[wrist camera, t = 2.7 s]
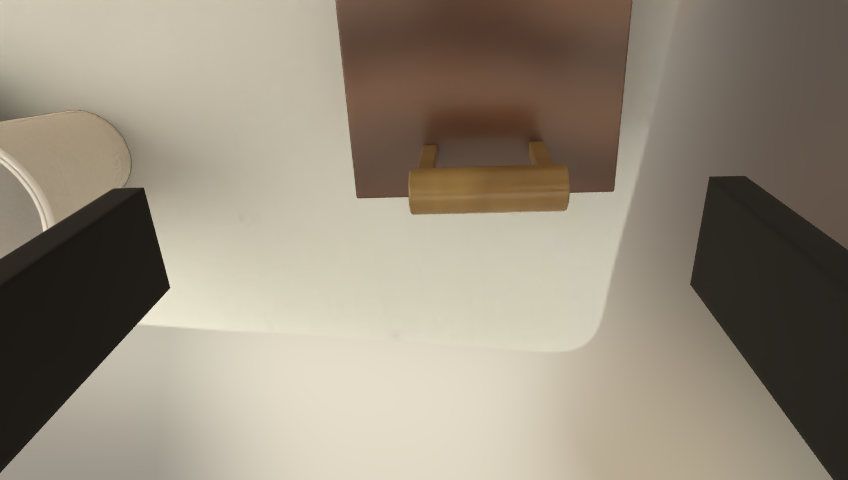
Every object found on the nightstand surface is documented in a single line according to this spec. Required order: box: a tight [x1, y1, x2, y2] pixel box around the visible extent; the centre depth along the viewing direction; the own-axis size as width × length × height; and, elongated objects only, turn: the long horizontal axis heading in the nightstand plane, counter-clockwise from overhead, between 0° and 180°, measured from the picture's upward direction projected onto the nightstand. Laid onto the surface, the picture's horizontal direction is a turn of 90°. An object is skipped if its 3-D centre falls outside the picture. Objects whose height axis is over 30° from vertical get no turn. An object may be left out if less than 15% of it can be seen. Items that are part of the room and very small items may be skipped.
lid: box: [336, 0, 632, 215], centre depth 23 cm, size 14×13×7 cm
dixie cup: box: [0, 110, 131, 259], centre depth 32 cm, size 8×8×10 cm
